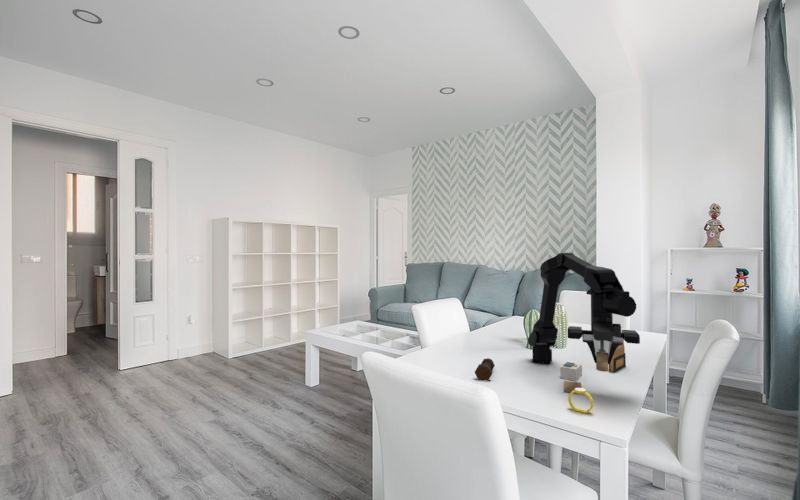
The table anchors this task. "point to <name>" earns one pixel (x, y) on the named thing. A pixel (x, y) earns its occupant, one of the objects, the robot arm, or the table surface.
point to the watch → (581, 391)
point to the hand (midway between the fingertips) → (602, 363)
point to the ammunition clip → (618, 359)
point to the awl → (602, 358)
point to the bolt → (485, 369)
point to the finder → (571, 371)
